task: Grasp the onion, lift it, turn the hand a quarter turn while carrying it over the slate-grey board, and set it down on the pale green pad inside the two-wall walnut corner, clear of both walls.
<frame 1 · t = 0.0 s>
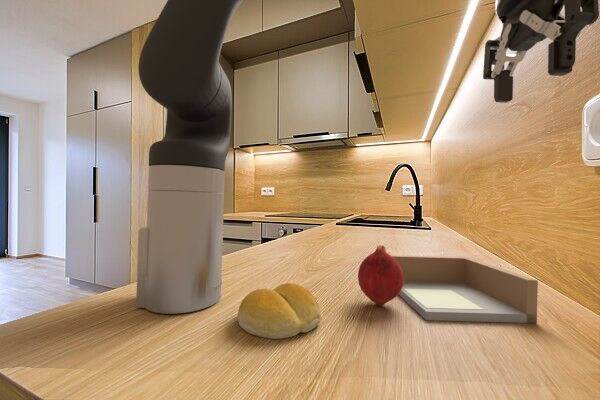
hand: (528, 89, 35), 29 cm above the counter, fingers open, 8 cm apart
onion: (379, 306, 35), on the counter
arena: (449, 300, 37), on the counter
bread roll: (280, 323, 30), on the counter
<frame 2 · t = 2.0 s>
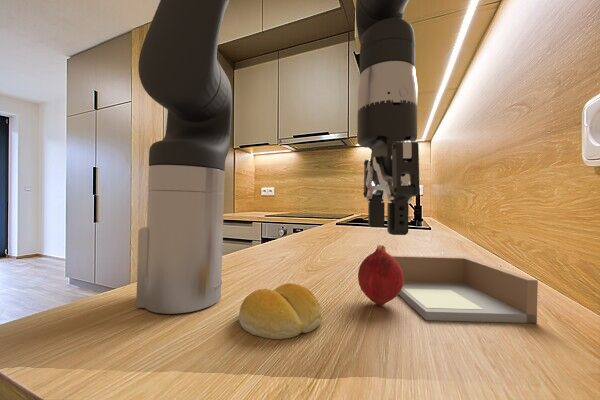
hand: (385, 230, 35), 10 cm above the counter, fingers open, 8 cm apart
nothing on the counter moved.
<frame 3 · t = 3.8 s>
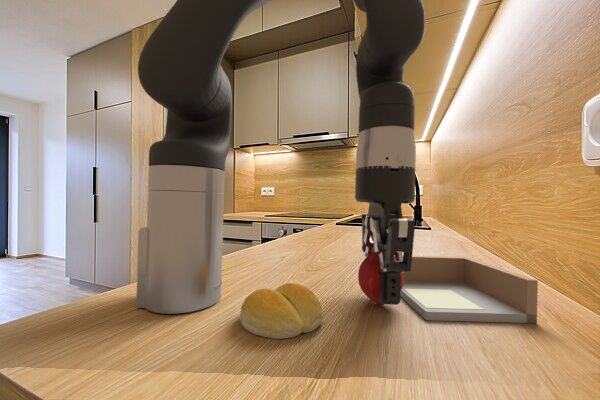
hand: (381, 293, 35), 2 cm above the counter, fingers closed on onion, 6 cm apart
onion: (379, 306, 35), on the counter, touching gripper
everything else where it was.
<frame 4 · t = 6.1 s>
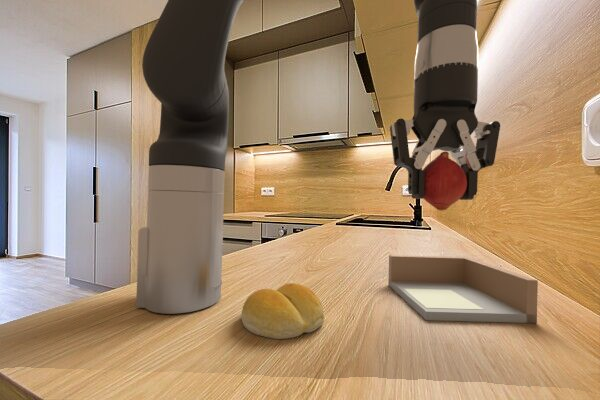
hand: (441, 198, 35), 14 cm above the counter, fingers closed on onion, 6 cm apart
onion: (440, 212, 35), point 13 cm above the counter, touching gripper
everything else where it was.
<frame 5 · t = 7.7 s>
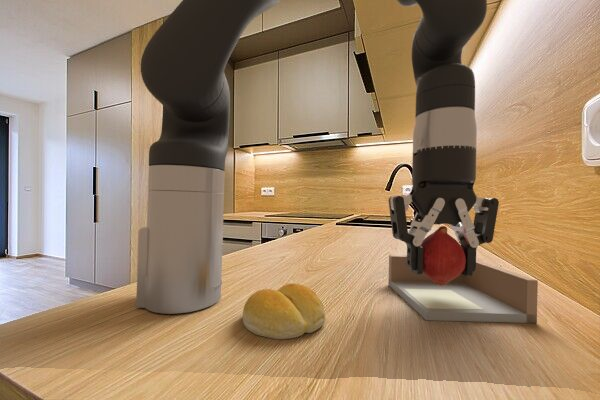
hand: (440, 273, 35), 4 cm above the counter, fingers closed on onion, 6 cm apart
onion: (439, 286, 35), point 2 cm above the counter, touching gripper
everything else where it was.
when the fingers open (3 cm above the counter, at t = 8.9 s): onion stays where it is, resting on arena.
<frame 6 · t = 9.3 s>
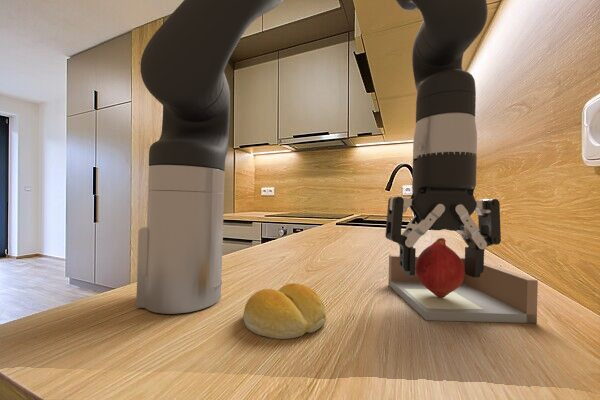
hand: (440, 275, 35), 4 cm above the counter, fingers open, 8 cm apart
onion: (439, 298, 35), point 1 cm above the counter, touching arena
everything else where it was.
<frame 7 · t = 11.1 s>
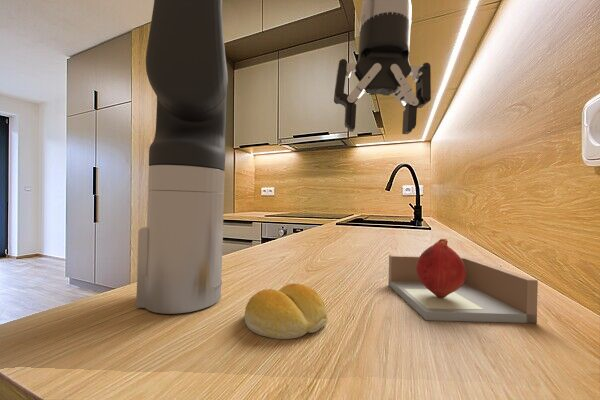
hand: (379, 131, 40), 25 cm above the counter, fingers open, 8 cm apart
nothing on the counter moved.
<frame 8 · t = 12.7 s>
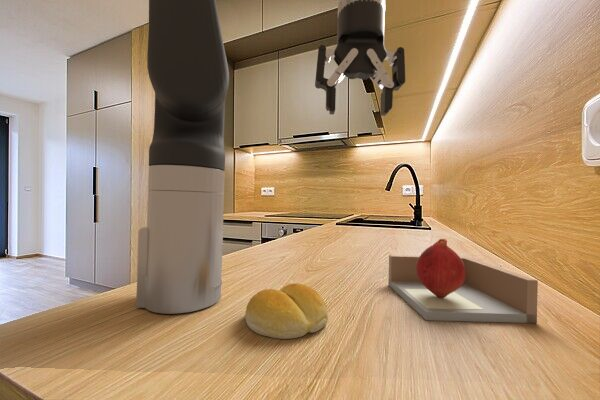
hand: (358, 113, 43), 28 cm above the counter, fingers open, 8 cm apart
nothing on the counter moved.
at the end: onion 0.2 cm from the target spot on the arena, point 0.8 cm above the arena's base; the gripper is holding nothing; onion point 0.8 cm above the counter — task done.
